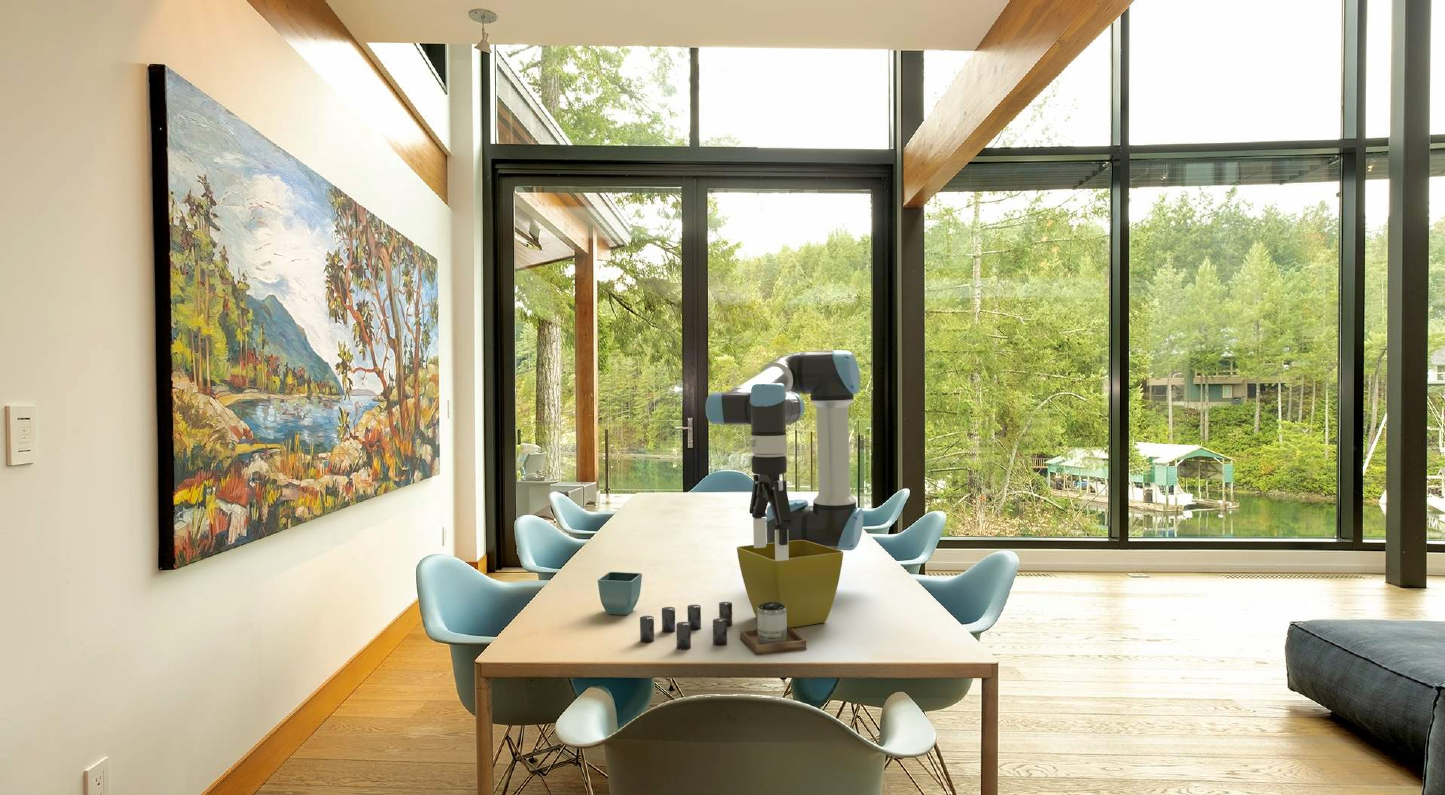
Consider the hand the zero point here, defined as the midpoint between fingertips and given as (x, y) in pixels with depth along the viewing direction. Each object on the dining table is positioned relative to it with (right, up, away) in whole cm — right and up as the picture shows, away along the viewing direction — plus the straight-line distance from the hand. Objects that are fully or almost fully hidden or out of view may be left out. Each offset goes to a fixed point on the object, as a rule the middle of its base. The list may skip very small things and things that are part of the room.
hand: (770, 553), depth 169 cm
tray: (0, -19, -1) cm, 19 cm away
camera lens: (0, -19, -1) cm, 19 cm away
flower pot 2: (+6, -19, +17) cm, 26 cm away
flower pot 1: (-35, -20, +25) cm, 47 cm away
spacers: (-17, -19, +4) cm, 26 cm away
